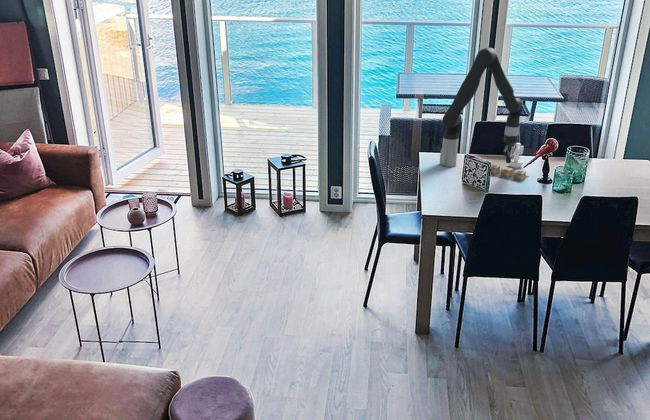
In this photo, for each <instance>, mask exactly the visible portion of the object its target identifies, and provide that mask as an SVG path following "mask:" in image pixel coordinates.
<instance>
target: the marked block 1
mask: <svg viewBox="0 0 650 420" xmlns="http://www.w3.org/2000/svg"><path fill="white" fill-rule="evenodd" d="M490 165H491V173H493V174H497V173H499V172H500V170H501V165H499V164H495V163H491V164H490Z"/></svg>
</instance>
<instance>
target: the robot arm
mask: <svg viewBox="0 0 650 420" xmlns="http://www.w3.org/2000/svg"><path fill="white" fill-rule="evenodd" d="M475 56H476V57H475V58H474V61H473V63H472V64H471V65H472V66H471V67H470V70H469V71H468V73H467V74H466V76H465V77H464V80H463V81H462V83H461V85H460V87H459V89H458V91H457V92H456V95H455V97H454V99H453V101H452V102H451V105H450V106H449V107H448V109H447V110H446V112H445V114H444V115H443V117H442V124H443V126H444V127H445V129H444V131H443V134H442V135H443V136H442V145H441V147H442V148H441V149H440V155H439V165H441V166H443V167H445V168H446V167H447V168H453V167H456V166H457V161H458V159H457V158H458V147H459V139H460V138H459V137H460V134H461V129H462V120H463V119H462V114H461V113H462V111H463V110H464V109H465V108H466V107H467V105H468V104H469V103H470V102H471V100H472V99H473V98H474V97H475V95H476V92H477V90H478V89H479V87H480V82H481V78H482V76H483V74H484V72H485V71H486V69H487V67H488V69H489V70H490V71H491V74H492V77H493V81H494V83H495V86H496V88H497V90H498V91H499V94H500V96H501V97H502V100H503V102H504V106H505V108H506V110H508V116H507V117H506V121H505V129H504V136H503V137H504V138H503V142H504V143H505V146H504V147H505V148H504V149H503V150H502V151H503V155H504V157H506V158H505V159H506V160H505V163H506V164H509V163H510V162H511V160H512V157H513V156H514V155H513V154H514V151H515V149H516V143H518V140H519V131H520V130H519V129H520V128H519V127H520V119H521V118H520V117H521V115H522V110H523V101H522V99H520V98H519V97H515V94H514V92H515V90H514V88H513V87H512V85H511V83H510V81H509V79H508V78H507V76H506V74H505V72H504V70H503V68H502V65H501V63H500V60H499V57H498V54H497V52H496V50H495V49H494V48H492V47H485V48H482V49H480V50H479V51H478V52H477V54H476V55H475Z"/></svg>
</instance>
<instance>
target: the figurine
mask: <svg viewBox="0 0 650 420" xmlns="http://www.w3.org/2000/svg"><path fill="white" fill-rule="evenodd" d="M515 145H516V149H515V151H514V154H513V155H512V156H513V158H511V162H510V163H508V164H509V166H510V167H511V168H513V169H514V168H515V169H517V168H521V167H522V166H523V165H524V163H525V162H524V161H522V160H521V159H520V156H521V155H523V153H524V148H525V146H524V145H522V144H521V143H520V142H517V143H515Z"/></svg>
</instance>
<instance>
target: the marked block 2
mask: <svg viewBox="0 0 650 420" xmlns="http://www.w3.org/2000/svg"><path fill="white" fill-rule="evenodd" d="M513 173H514V179H518V180H523V179H524V180H526V179H525V177H526V176H527V171H525V170H521V169H517V170H515V171H514V172H513ZM524 180H523V181H524Z"/></svg>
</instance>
